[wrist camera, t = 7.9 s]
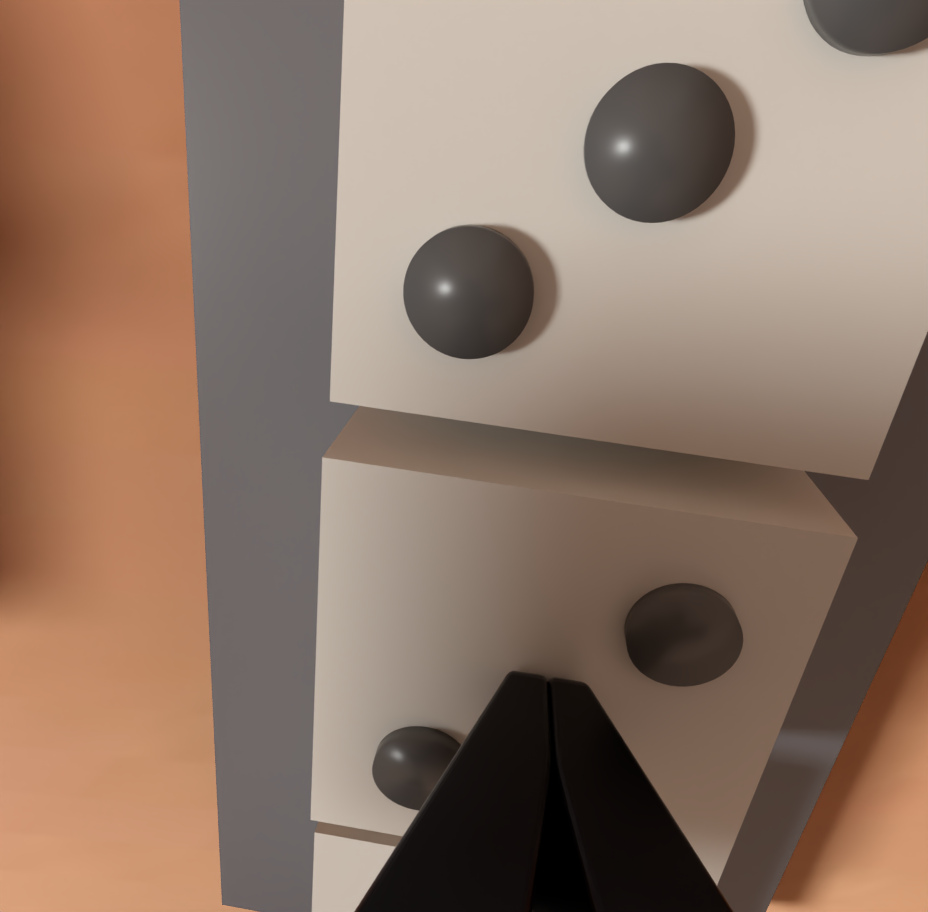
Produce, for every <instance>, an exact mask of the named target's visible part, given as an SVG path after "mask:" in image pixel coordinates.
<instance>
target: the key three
mask: <svg viewBox="0 0 928 912" xmlns="http://www.w3.org/2000/svg"><path fill="white" fill-rule="evenodd" d="M927 332H928V0H344V18H343V46H342V74H341V102H340V129H339V157H338V185H337V213H336V240H335V268H334V296H333V324H332V352H331V379H330V401H331V402H338V403H345V404H351V405H358V406H365V407H372V408H379V409H386V410H392V411H399V412H406V413H413V414H420V415H427V416H433V417H440V418H447V419H454V420H461V421H468V422H474V423H481V424H488V425H495V426H502V427H509V428H515V429H522V430H529V431H536V432H543V433H550V434H556V435H563V436H570V437H577V438H584V439H591V440H597V441H604V442H611V443H618V444H625V445H632V446H639V447H645V448H652V449H659V450H666V451H673V452H680V453H686V454H693V455H700V456H707V457H714V458H721V459H727V460H734V461H741V462H748V463H755V464H762V465H768V466H775V467H782V468H789V469H796V470H803V471H809V472H816V473H823V474H830V475H837V476H844V477H850V478H857V479H864V480H869V478H870V475H871V473H872V470H873V468H874V465H875V463H876V460H877V458H878V455H879V452H880V450H881V447H882V445H883V442H884V440H885V437H886V435H887V432H888V430H889V427H890V425H891V422H892V420H893V417H894V415H895V412H896V410H897V407H898V405H899V402H900V400H901V397H902V395H903V392H904V390H905V387H906V384H907V382H908V379H909V377H910V374H911V372H912V369H913V367H914V364H915V362H916V359H917V357H918V354H919V352H920V349H921V347H922V344H923V342H924V339H925V337H926V334H927Z"/></svg>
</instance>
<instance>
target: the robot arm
mask: <svg viewBox="0 0 928 912" xmlns="http://www.w3.org/2000/svg"><path fill="white" fill-rule="evenodd" d="M354 912H734V911H733V910H732V908H731V907H730V905H729V904H728V902H727V901H726V899H725V897H724V896H723V894H722V893H721V891H720V890H719V888H718V886H717V885H716V883H715V882H714V880H713V879H712V877H711V876H710V874H709V872H708V871H707V869H706V868H705V866H704V865H703V863H702V861H701V860H700V858H699V857H698V855H697V854H696V852H695V851H694V849H693V847H692V846H691V844H690V843H689V841H688V840H687V838H686V836H685V835H684V833H683V832H682V830H681V829H680V827H679V826H678V824H677V822H676V821H675V819H674V818H673V816H672V815H671V813H670V811H669V810H668V808H667V807H666V805H665V804H664V802H663V801H662V799H661V797H660V796H659V794H658V793H657V791H656V790H655V788H654V786H653V785H652V783H651V782H650V780H649V779H648V777H647V776H646V774H645V772H644V771H643V769H642V768H641V766H640V765H639V763H638V761H637V760H636V758H635V757H634V755H633V754H632V752H631V751H630V749H629V747H628V746H627V744H626V743H625V741H624V740H623V738H622V736H621V735H620V733H619V732H618V730H617V729H616V727H615V725H614V724H613V722H612V721H611V719H610V718H609V716H608V715H607V713H606V711H605V710H604V708H603V707H602V705H601V704H600V702H599V700H598V699H597V697H596V696H595V694H594V693H593V691H592V690H591V688H590V687H589V686H588V685H587V684H586V683H584V682H581V681H575V680H569V679H563V678H557V677H553V678H551V679H550V680H549V681H548V682H547V680H546V678H545V677H544V676H542V675H538V674H532V673H526V672H520V671H511V672H509V673H508V674H507V675H506V676H505V678H504V679H503V681H502V683H501V684H500V686H499V687H498V689H497V690H496V692H495V693H494V695H493V697H492V698H491V700H490V701H489V703H488V704H487V706H486V707H485V709H484V711H483V712H482V714H481V715H480V717H479V718H478V720H477V721H476V723H475V725H474V726H473V728H472V729H471V731H470V732H469V734H468V735H467V737H466V739H465V740H464V742H463V743H462V745H461V746H460V748H459V749H458V751H457V753H456V754H455V756H454V757H453V759H452V760H451V762H450V763H449V765H448V767H447V768H446V770H445V771H444V773H443V774H442V776H441V777H440V779H439V781H438V782H437V784H436V785H435V787H434V788H433V790H432V791H431V793H430V795H429V796H428V798H427V799H426V801H425V802H424V804H423V805H422V807H421V809H420V810H419V812H418V813H417V815H416V816H415V818H414V819H413V821H412V823H411V824H410V826H409V827H408V829H407V830H406V832H405V833H404V835H403V836H402V838H401V840H400V841H399V843H398V844H397V846H396V847H395V849H394V850H393V852H392V854H391V855H390V857H389V858H388V860H387V861H386V863H385V864H384V866H383V868H382V869H381V871H380V872H379V874H378V875H377V877H376V878H375V880H374V882H373V883H372V885H371V886H370V888H369V889H368V891H367V892H366V894H365V896H364V897H363V899H362V900H361V902H360V903H359V905H358V906H357V908H356V910H355V911H354Z"/></svg>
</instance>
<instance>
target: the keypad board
mask: <svg viewBox="0 0 928 912" xmlns="http://www.w3.org/2000/svg"><path fill="white" fill-rule="evenodd" d="M343 18H344V0H180V19H181V41H182V62H183V83H184V104H185V126H186V147H187V168H188V189H189V210H190V232H191V253H192V274H193V295H194V317H195V338H196V359H197V380H198V402H199V423H200V444H201V465H202V487H203V508H204V529H205V550H206V572H207V593H208V614H209V635H210V657H211V678H212V699H213V720H214V742H215V763H216V784H217V805H218V827H219V848H220V869H221V890H222V905H227V906H233V907H238V908H243V909H249V910H254V911H260V912H312V889H313V861H314V834H315V829H316V827H317V824H318V821H314V820H310V819H311V788H312V758H313V727H314V696H315V665H316V634H317V604H318V573H319V542H320V511H321V480H322V457H323V456H324V454H325V453H326V451H327V450H328V449H329V447H330V446H331V445H332V443H333V442H334V440H335V439H336V438H337V436H338V435H339V433H340V432H341V431H342V429H343V428H344V427H345V425H346V424H347V422H348V421H349V420H350V418H351V417H352V416H353V414H354V413H355V411H356V410H357V409H358V407H359V406H358V405H351V404H345V403H338V402H331V401H330V379H331V352H332V324H333V296H334V268H335V240H336V213H337V185H338V157H339V129H340V102H341V74H342V46H343ZM805 473H806V474H807V475H808V476H809V478H810V479H811V480H812V481H813V483H814V484H815V485H816V486H817V488H818V489H819V490H820V491H821V493H822V494H823V495H824V496H825V497H826V499H827V500H828V501H829V502H830V504H831V505H832V506H833V507H834V509H835V510H836V511H837V512H838V514H839V515H840V516H841V517H842V519H843V520H844V521H845V522H846V524H847V525H848V526H849V527H850V529H851V530H852V531H853V532H854V534H855V535H856V536H857V537H858V539H857V542H856V544H855V547H854V549H853V552H852V554H851V556H850V559H849V561H848V564H847V566H846V569H845V571H844V574H843V576H842V579H841V581H840V584H839V586H838V589H837V591H836V593H835V596H834V598H833V601H832V603H831V606H830V608H829V611H828V613H827V616H826V618H825V621H824V623H823V625H822V628H821V630H820V633H819V635H818V638H817V640H816V643H815V645H814V648H813V650H812V653H811V655H810V658H809V660H808V662H807V665H806V667H805V670H804V672H803V675H802V677H801V680H800V682H799V685H798V687H797V690H796V692H795V695H794V697H793V699H792V702H791V704H790V707H789V709H788V712H787V714H786V717H785V719H784V722H783V724H782V727H781V729H780V731H779V734H778V736H777V739H776V741H775V744H774V746H773V749H772V751H771V754H770V756H769V759H768V761H767V764H766V766H765V768H764V771H763V773H762V776H761V778H760V781H759V783H758V786H757V788H756V791H755V793H754V796H753V798H752V801H751V803H750V805H749V808H748V810H747V813H746V815H745V818H744V820H743V823H742V825H741V828H740V830H739V833H738V835H737V837H736V840H735V842H734V845H733V847H732V850H731V852H730V855H729V857H728V860H727V862H726V865H725V867H724V870H723V872H722V874H721V877H720V879H719V882H718V884H717V886H718V888H719V890H720V891H721V893H722V894H723V896H724V897H725V899H726V901H727V902H728V904H729V905H730V907H731V908H732V910H733V911H734V912H766V910H767V908H768V906H769V904H770V902H771V899H772V897H773V895H774V893H775V891H776V889H777V886H778V884H779V882H780V880H781V878H782V876H783V873H784V871H785V869H786V867H787V865H788V863H789V860H790V858H791V856H792V854H793V852H794V850H795V847H796V845H797V843H798V841H799V839H800V837H801V834H802V832H803V830H804V828H805V826H806V824H807V821H808V819H809V817H810V815H811V813H812V811H813V808H814V806H815V804H816V802H817V800H818V798H819V795H820V793H821V791H822V789H823V787H824V785H825V782H826V780H827V778H828V776H829V774H830V772H831V769H832V767H833V765H834V763H835V761H836V759H837V756H838V754H839V752H840V750H841V748H842V746H843V743H844V741H845V739H846V737H847V735H848V733H849V730H850V728H851V726H852V724H853V722H854V720H855V717H856V715H857V713H858V711H859V709H860V707H861V704H862V702H863V700H864V698H865V696H866V693H867V691H868V689H869V687H870V685H871V683H872V680H873V678H874V676H875V674H876V672H877V670H878V667H879V665H880V663H881V661H882V659H883V657H884V654H885V652H886V650H887V648H888V646H889V644H890V641H891V639H892V637H893V635H894V633H895V631H896V628H897V626H898V624H899V622H900V620H901V618H902V615H903V613H904V611H905V609H906V607H907V605H908V602H909V600H910V598H911V596H912V594H913V592H914V589H915V587H916V585H917V583H918V581H919V579H920V576H921V574H922V572H923V570H924V568H925V566H926V563H927V561H928V332H927V334H926V337H925V339H924V342H923V344H922V347H921V349H920V352H919V354H918V357H917V359H916V362H915V364H914V367H913V369H912V372H911V374H910V377H909V379H908V382H907V384H906V387H905V390H904V392H903V395H902V397H901V400H900V402H899V405H898V407H897V410H896V412H895V415H894V417H893V420H892V422H891V425H890V427H889V430H888V432H887V435H886V437H885V440H884V442H883V445H882V447H881V450H880V452H879V455H878V458H877V460H876V463H875V465H874V468H873V470H872V473H871V475H870V478H869V480H864V479H857V478H850V477H844V476H837V475H830V474H823V473H816V472H809V471H805Z"/></svg>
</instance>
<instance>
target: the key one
mask: <svg viewBox="0 0 928 912" xmlns="http://www.w3.org/2000/svg"><path fill="white" fill-rule="evenodd" d="M401 838H402V836H398V835H392V834H387V833H381V832H376V831H370V830H364V829H359V828H353V827H347V826H342V825H336V824H331V823H325V822H319V821H318V824H317V827H316V829H315V834H314V861H313V889H312V912H354V911H355V910H356V908H357V906H358V905H359V903H360V902H361V900H362V899H363V897H364V896H365V894H366V892H367V891H368V889H369V888H370V886H371V885H372V883H373V882H374V880H375V878H376V877H377V875H378V874H379V872H380V871H381V869H382V868H383V866H384V864H385V863H386V861H387V860H388V858H389V857H390V855H391V854H392V852H393V850H394V849H395V847H396V846H397V844H398V843H399V841H400V840H401Z"/></svg>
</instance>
